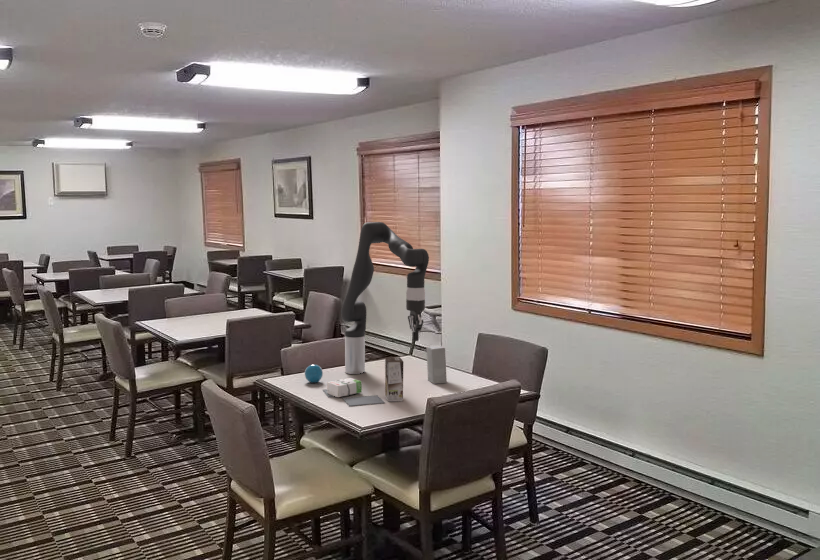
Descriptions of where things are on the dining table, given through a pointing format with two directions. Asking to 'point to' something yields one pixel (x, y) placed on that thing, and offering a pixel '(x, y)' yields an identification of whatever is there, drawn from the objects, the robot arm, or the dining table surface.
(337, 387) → the ink box
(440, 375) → the skincare box
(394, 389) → the coffee box
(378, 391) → the dining table surface
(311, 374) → the ball
